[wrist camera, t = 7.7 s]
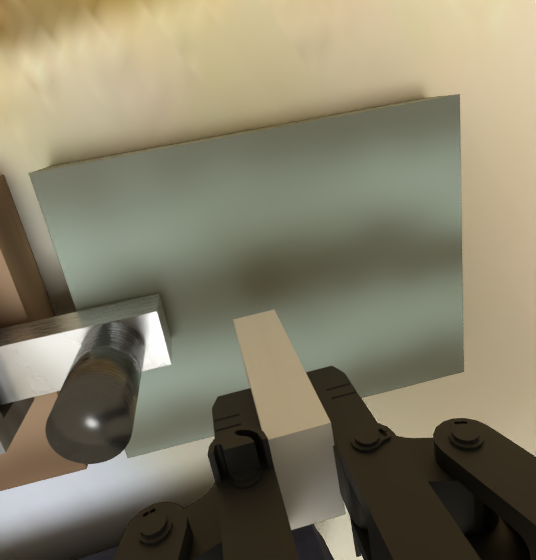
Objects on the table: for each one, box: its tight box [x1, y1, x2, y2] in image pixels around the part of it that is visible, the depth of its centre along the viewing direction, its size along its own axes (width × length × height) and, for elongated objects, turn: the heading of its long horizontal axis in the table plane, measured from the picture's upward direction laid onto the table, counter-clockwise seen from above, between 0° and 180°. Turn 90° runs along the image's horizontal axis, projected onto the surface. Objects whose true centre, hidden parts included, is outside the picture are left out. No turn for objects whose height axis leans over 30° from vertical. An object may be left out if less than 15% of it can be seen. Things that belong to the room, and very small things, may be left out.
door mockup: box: [0, 94, 464, 491], centre depth 20 cm, size 14×32×7 cm, turn 99°
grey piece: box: [0, 294, 172, 464], centre depth 16 cm, size 2×10×7 cm, turn 99°
